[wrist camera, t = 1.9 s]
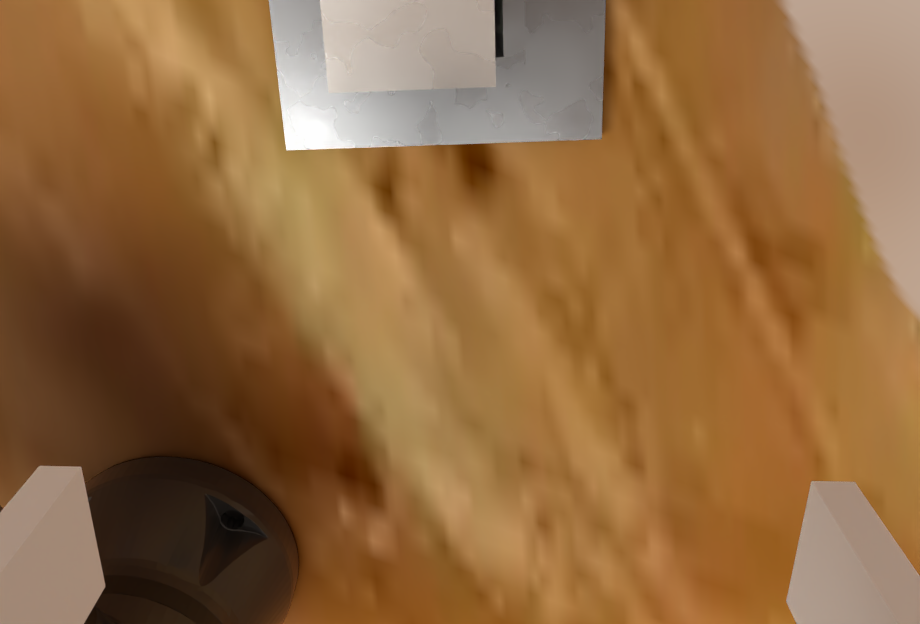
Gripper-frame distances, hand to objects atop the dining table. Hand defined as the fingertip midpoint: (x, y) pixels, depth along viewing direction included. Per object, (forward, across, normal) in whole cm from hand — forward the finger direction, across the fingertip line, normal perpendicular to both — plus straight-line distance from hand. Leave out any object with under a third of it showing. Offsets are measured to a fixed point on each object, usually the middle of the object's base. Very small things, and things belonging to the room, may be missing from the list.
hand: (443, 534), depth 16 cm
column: (+30, -2, +8) cm, 31 cm away
